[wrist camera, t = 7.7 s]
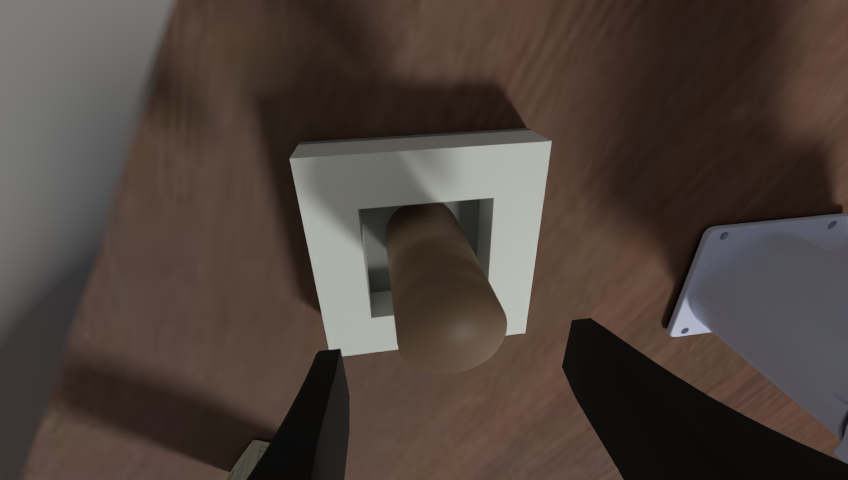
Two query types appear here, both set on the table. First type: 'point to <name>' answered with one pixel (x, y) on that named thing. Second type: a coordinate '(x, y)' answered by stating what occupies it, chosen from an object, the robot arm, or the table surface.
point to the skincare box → (248, 460)
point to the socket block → (407, 185)
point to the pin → (440, 293)
